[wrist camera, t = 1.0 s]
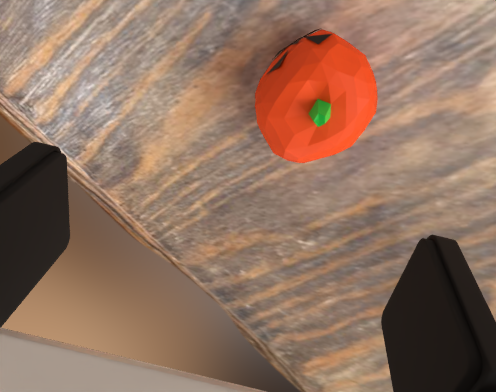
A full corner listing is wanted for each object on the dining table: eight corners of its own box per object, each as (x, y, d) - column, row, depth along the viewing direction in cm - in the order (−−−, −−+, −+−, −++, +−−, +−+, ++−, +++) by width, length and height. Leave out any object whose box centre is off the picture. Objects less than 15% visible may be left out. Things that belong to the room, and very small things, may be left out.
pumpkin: (240, 113, 30) (222, 151, 24) (300, 4, 26) (296, 22, 20) (326, 162, 31) (328, 209, 25) (398, 65, 27) (418, 97, 21)
